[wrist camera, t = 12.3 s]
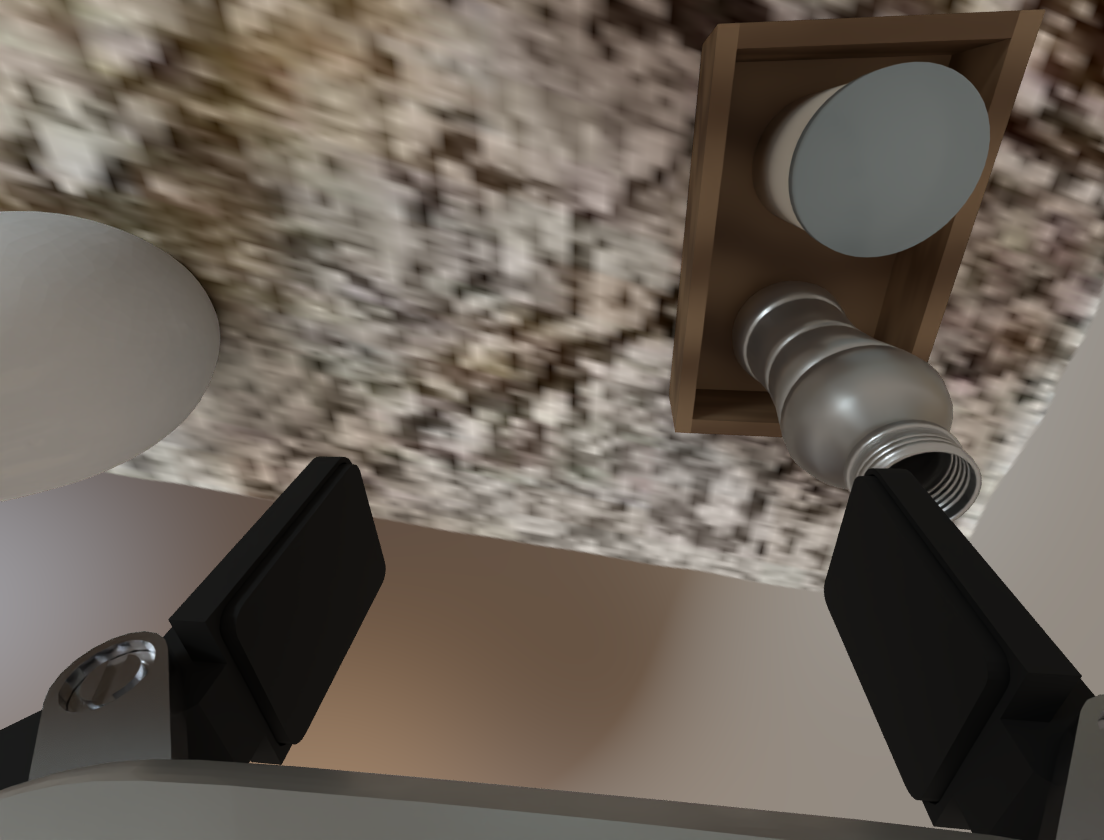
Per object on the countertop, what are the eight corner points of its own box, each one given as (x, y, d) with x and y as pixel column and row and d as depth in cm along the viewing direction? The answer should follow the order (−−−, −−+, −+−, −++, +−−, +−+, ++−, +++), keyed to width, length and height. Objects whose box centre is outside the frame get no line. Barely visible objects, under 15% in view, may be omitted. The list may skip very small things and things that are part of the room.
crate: (702, 44, 30) (718, 23, 25) (968, 34, 28) (1045, 9, 23) (668, 394, 40) (675, 432, 35) (863, 401, 39) (900, 442, 33)
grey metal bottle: (705, 324, 36) (778, 492, 19) (789, 250, 34) (965, 367, 16) (766, 385, 38) (885, 592, 20) (850, 318, 35) (1074, 494, 18)
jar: (759, 88, 30) (815, 65, 21) (898, 84, 29) (1019, 58, 20) (740, 226, 33) (781, 256, 24) (864, 226, 32) (954, 257, 23)
